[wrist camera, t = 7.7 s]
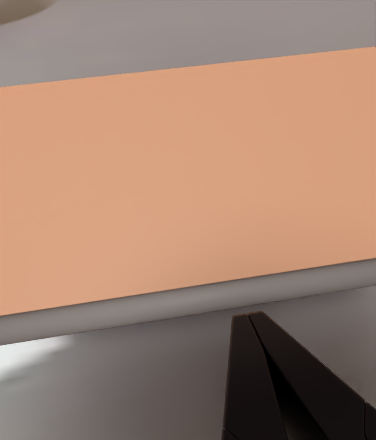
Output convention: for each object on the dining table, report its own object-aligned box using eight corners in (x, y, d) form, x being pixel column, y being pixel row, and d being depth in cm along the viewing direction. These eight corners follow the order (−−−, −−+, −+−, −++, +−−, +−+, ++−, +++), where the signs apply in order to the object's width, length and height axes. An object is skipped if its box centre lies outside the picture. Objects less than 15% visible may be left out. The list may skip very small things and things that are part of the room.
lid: (439, 274, 16) (460, 272, 14) (-24, 348, 14) (-42, 352, 13) (370, 62, 18) (383, 45, 17) (-26, 106, 17) (-41, 91, 16)
